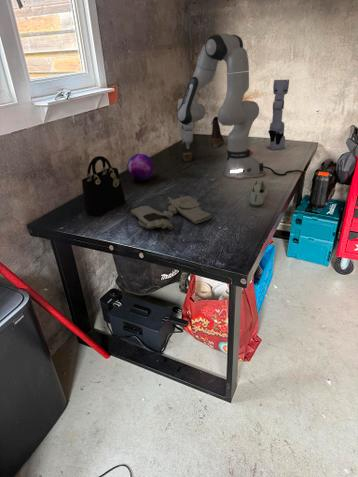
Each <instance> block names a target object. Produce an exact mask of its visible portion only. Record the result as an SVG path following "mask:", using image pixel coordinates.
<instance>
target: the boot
mask: <svg viewBox="0 0 358 477" xmlns="http://www.w3.org/2000/svg"><path fill="white" fill-rule="evenodd" d="M211 125H212V126H211V127H212V129H211V130H212V131H211V134H210V135H211V143H212V146H213V148H214V149H215V148H218V147H219V146H221V145H222V144H224V143H225V139H224V137H223V135H222V133H221V128H220V122H219V120H218V116H214V117H213V118H212V121H211Z"/></svg>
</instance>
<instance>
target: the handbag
mask: <svg viewBox="0 0 358 477" xmlns="http://www.w3.org/2000/svg"><path fill="white" fill-rule="evenodd" d="M99 161H101V163H102V168H101V170H100V171H99V172H97V170H96V165H97V163H98V162H99ZM106 165H107V168H106ZM91 171H92V174H91ZM86 172H87V173H86V176H85V177H84V178H82V179H81V185H82V193H83V194H82V195H83V200H84V201H83V202H84V209H85V210H84V211H85V213H86V214H90V215H93V216H97V217H98V216H99V217H100V216H102V215H103V214H105V213H108V212H109V211H111V210H113V209H115V208H116V207H118V206H119V205H121V204H123V203H125V202H126V198H125V193H124V188H123V185H122V180H121V177H120V172H119V169H118V168H117V167H112V165H111V162H110V161H109V160H108V158H106V157H105V156H103V155H96V156H95V157H93V159H92V160H91V161H90V162H89V164H88V167H87V170H86Z"/></svg>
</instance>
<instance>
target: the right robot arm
mask: <svg viewBox="0 0 358 477" xmlns="http://www.w3.org/2000/svg"><path fill="white" fill-rule="evenodd" d="M289 88H290V79H289V78H288V79H274V80H273V86H272V89H273V90H272V92H273V95H274V99H273V102H272V120H271V122H270V123H269V129H268V131H267V132H268V135H269V140H270V143H269V146H267V148H268V149H270V150H272V151H276V150H283V149H285V144H286V137H285V127H286V126H285V122H284V121H283V111H284V109H285V96H286V95H287V94H288V92H289Z"/></svg>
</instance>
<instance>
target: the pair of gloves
mask: <svg viewBox="0 0 358 477" xmlns="http://www.w3.org/2000/svg"><path fill="white" fill-rule="evenodd" d="M166 204H167V205H168V207H167V210H164V211H163V212H161V211H159V210H156V209H155V208H152V207H151V206H149V205H141V206H138V207H135V208H132V209H131V210H130V214H131V215H133V216H134V217H136V218H137V219H138V225H139V226H140V227H142V228H144V229H147V230H154V229H156V228H161V229H168V230H173V229H174V226H173V224H172V223H171V221H170V219H172V218H173V216H174V215H176V214H177V213H180V214H181V216H183V217H184V218H186V219H188V220H189V221H190V222H192V223H193V224H195V225H197V224H200V223H204V222H205V221H207V220H210V219H211V217H212V214H211V213H210V212H207V211H204V210H202V208H201V207H200V202H198V200H196V199H195V198H193V197H192V196H190V195H184V196H180V197H178V198H175V199H174V198H171V197H170V196H168V197H167V199H166Z"/></svg>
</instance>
